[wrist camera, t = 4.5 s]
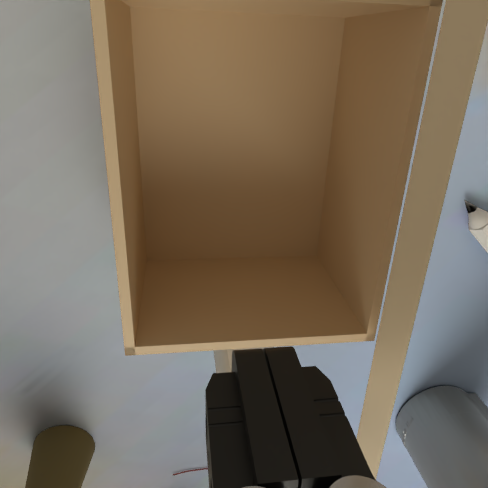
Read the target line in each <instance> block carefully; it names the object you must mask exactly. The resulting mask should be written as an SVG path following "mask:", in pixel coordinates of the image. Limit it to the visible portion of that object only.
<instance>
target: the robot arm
mask: <svg viewBox="0 0 488 488" xmlns="http://www.w3.org/2000/svg"><path fill="white" fill-rule="evenodd" d="M396 430H397V432H398V434H399V436H400V438H401V440H402V442H403V444H404V446H405V448H406V449H407V451H408V452H409V454H410V456H411V458H412V460H413V462H414V464H415V465H416V467H417V469H418V471H419V472H420V474H421V476H422V478H423V480H424V481H425V483H426V485H427V487H428V488H488V407H487V406H486V405H485V404H484V403H483V401H482V400H481V399H480V398H479V397H478V396H477V394H476V393H466V392H465V391H463V390H462V389H460V388H457V387H454V386H438V387H433V388H430V389H427V390H425V391H422V392H421V393H419V394H417V395H415V396H414V397H413V398H411V399H410V400H409V401H408V402H407V403H406V404H405V405H404V406H403V407H402V409H401V411H400V412H399V414H398V417H397V419H396ZM206 446H207V461H208V474H209V488H386V487H385V486H384V485H382V484H381V483H379V482H377V481H376V480H375V478H374V476H373V474H372V473H371V470H370V468H369V466H368V464H367V461H366V459H365V457H364V455H363V453H362V450H361V448H360V446H359V444H358V441H357V439H356V437H355V435H354V432H353V430H352V428H351V426H350V423H349V421H348V419H347V417H346V416H345V412H344V410H343V408H342V406H341V403H340V401H338V397H337V394H336V392H335V390H334V388H333V385H332V383H331V381H330V380H329V379H328V378H327V377H326V376H325V375H324V374H323V373H322V372H321V371H320V370H319V369H318V368H317V367H316V366H312V367H301V365H300V362H299V360H298V357H297V354H296V352H295V349H294V348H293V347H276V348H264V349H246V350H233V351H232V371H231V372H225V373H213V375H212V377H211V379H210V381H209V383H208V386H207V388H206Z"/></svg>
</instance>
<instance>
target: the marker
mask: <svg viewBox="0 0 488 488" xmlns="http://www.w3.org/2000/svg"><path fill="white" fill-rule="evenodd" d="M465 204H466V208H467V211H468V218H469V223H468V226H469V230H470V232H471V233H472V234H473V235H474V237H475V238H476V239H477V240H478V242H479V243H480V244H481V245H482V247H483V248H484V249H485V250H486V252H487V253H488V211H484V210H482V209H480V208H478V207H476V206H475V205H473V204H471V203H469V202H467V201H466V200H465Z"/></svg>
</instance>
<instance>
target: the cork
mask: <svg viewBox="0 0 488 488" xmlns="http://www.w3.org/2000/svg"><path fill="white" fill-rule="evenodd" d="M94 450H95V442H94V440H93V438H92V436H91V435H90V434H88V433H87V432H86V431H84V430H82V429H80V428H78V427H74V426H69V425H59V426H55V427H50V428H48V429H46V430H44V431H42V432H41V433H40V434H39V435H38V436H37V437H36V439H35V441H34V444H33V450H32V455H31V460H30V465H29V471H28V476H27V481H26V486H25V488H81V486H82V483H83V481H84V478H85V475H86V472H87V470H88V467H89V464H90V461H91V459H92V456H93V453H94Z"/></svg>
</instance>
